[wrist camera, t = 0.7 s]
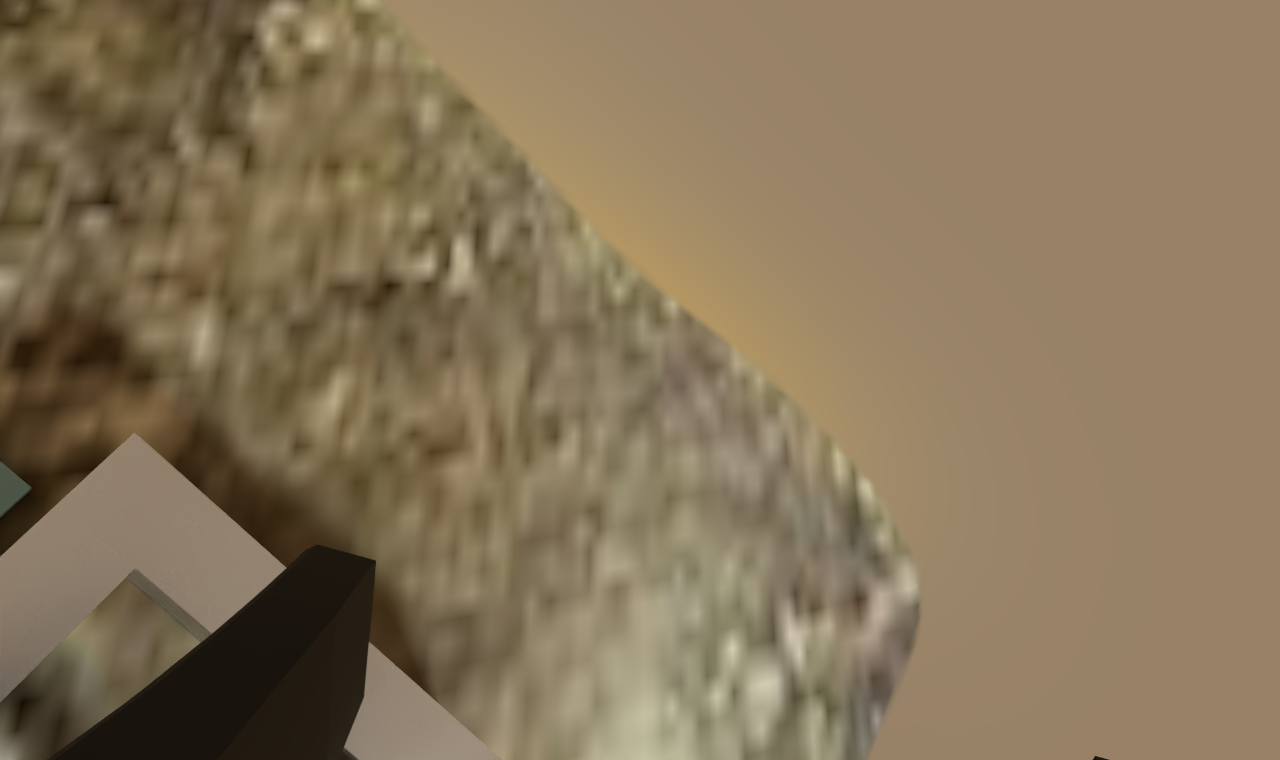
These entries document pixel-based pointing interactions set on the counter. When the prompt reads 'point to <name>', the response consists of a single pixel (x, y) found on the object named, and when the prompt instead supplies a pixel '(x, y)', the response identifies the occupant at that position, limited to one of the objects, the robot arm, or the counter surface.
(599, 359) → the counter surface
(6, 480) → the mat
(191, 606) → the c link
